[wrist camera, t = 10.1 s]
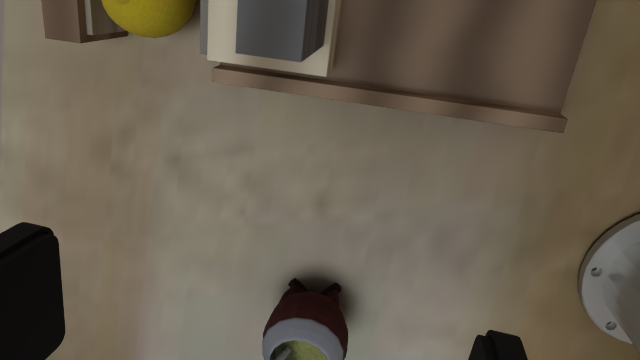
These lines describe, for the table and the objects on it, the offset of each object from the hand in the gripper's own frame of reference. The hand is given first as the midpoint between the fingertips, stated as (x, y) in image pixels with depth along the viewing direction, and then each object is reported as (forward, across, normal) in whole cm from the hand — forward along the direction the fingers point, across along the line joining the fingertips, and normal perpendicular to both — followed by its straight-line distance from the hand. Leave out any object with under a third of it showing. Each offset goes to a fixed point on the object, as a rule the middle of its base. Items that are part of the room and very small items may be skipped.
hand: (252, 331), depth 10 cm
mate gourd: (+28, +2, +20) cm, 34 cm away
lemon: (+27, +15, -5) cm, 32 cm away
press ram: (+26, +7, -5) cm, 27 cm away
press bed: (+28, -1, -6) cm, 28 cm away
